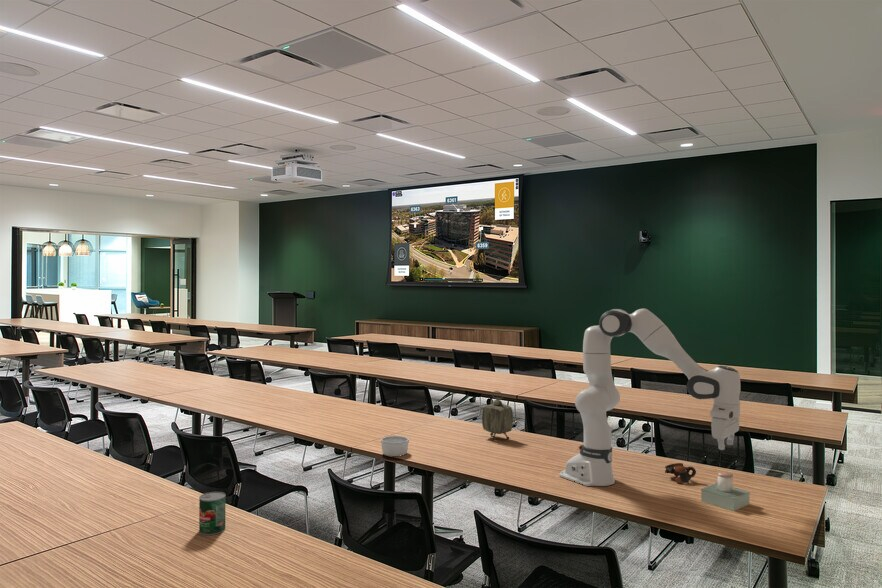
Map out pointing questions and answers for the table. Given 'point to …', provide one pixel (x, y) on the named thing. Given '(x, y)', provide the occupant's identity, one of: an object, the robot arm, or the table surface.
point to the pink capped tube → (725, 481)
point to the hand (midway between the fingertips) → (725, 447)
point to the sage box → (725, 497)
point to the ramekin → (394, 445)
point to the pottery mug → (680, 472)
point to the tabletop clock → (497, 417)
